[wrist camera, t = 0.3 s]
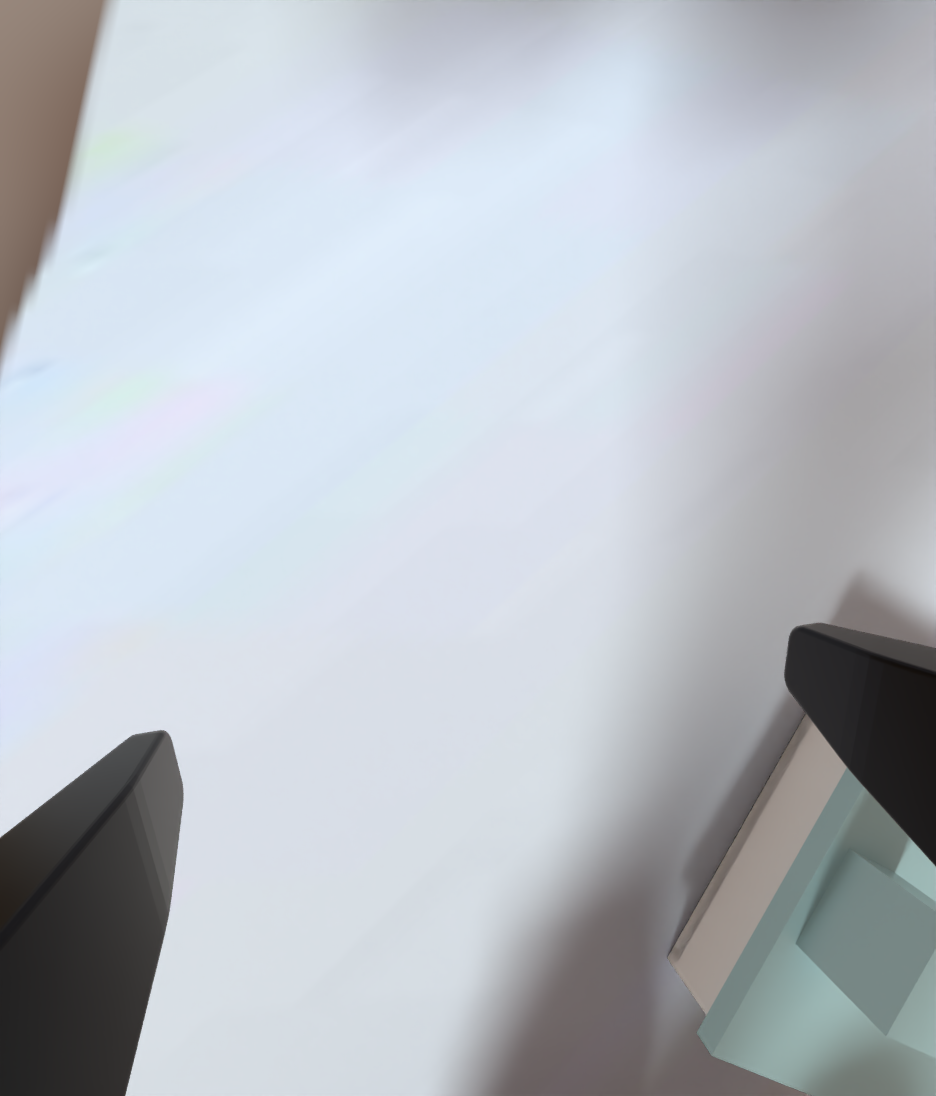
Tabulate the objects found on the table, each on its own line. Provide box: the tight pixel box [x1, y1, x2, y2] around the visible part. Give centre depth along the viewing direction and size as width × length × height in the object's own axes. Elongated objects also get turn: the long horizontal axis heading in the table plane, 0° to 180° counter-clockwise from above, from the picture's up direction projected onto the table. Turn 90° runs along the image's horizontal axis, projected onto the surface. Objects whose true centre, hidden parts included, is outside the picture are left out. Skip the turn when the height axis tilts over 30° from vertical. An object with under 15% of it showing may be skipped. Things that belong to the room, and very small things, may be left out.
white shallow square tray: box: [667, 714, 847, 1015], centre depth 28 cm, size 13×12×4 cm
